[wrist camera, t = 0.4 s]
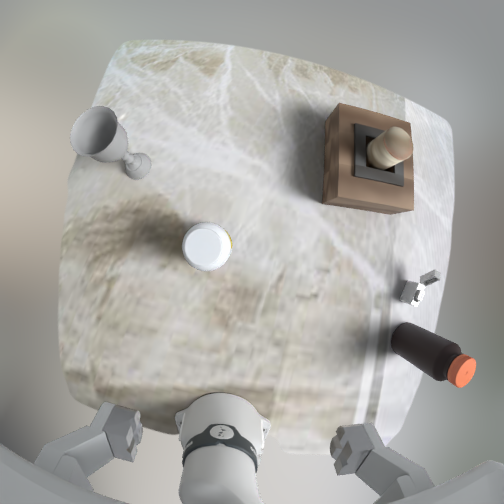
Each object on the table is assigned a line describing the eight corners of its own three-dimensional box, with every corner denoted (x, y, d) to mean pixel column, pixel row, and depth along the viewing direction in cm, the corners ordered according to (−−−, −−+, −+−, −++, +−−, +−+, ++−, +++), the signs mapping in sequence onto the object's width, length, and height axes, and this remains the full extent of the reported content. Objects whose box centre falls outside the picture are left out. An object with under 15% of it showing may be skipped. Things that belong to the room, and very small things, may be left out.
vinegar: (389, 356, 49) (447, 399, 29) (390, 326, 49) (454, 360, 29) (415, 348, 50) (475, 384, 30) (417, 319, 49) (483, 346, 29)
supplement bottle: (202, 219, 47) (189, 210, 34) (238, 235, 47) (239, 232, 34) (186, 256, 47) (168, 260, 34) (222, 272, 47) (217, 282, 34)
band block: (390, 214, 48) (415, 209, 40) (322, 203, 48) (339, 196, 39) (389, 136, 48) (411, 121, 39) (325, 121, 47) (340, 101, 39)
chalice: (164, 159, 46) (128, 118, 28) (142, 191, 46) (96, 166, 28) (134, 141, 46) (91, 99, 28) (113, 173, 46) (61, 142, 28)
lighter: (405, 302, 49) (428, 310, 41) (399, 299, 49) (422, 307, 41) (418, 269, 49) (442, 273, 41) (412, 266, 49) (436, 269, 41)
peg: (388, 174, 41) (414, 162, 33) (361, 168, 41) (385, 155, 33) (387, 147, 41) (411, 131, 33) (361, 140, 41) (383, 122, 33)
